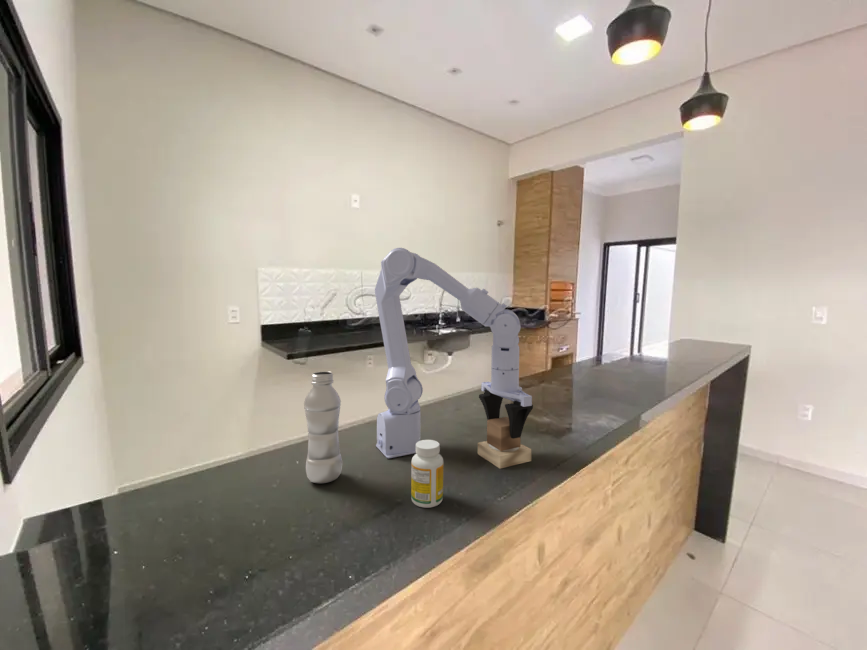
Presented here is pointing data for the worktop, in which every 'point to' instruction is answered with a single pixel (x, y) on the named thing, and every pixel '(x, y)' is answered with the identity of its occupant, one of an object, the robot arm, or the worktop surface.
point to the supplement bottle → (427, 474)
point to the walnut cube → (501, 434)
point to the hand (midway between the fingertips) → (504, 431)
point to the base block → (504, 455)
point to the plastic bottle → (323, 429)
